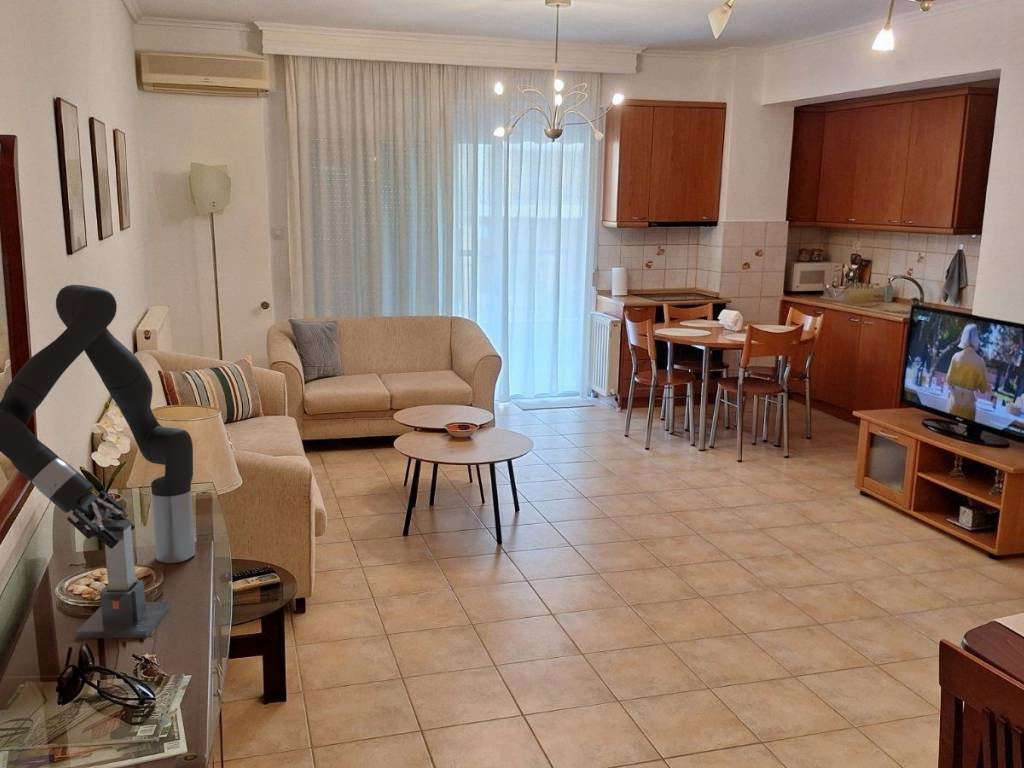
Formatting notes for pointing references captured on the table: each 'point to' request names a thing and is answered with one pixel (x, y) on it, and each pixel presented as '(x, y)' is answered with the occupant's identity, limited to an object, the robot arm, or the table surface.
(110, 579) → the post
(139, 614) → the stand
